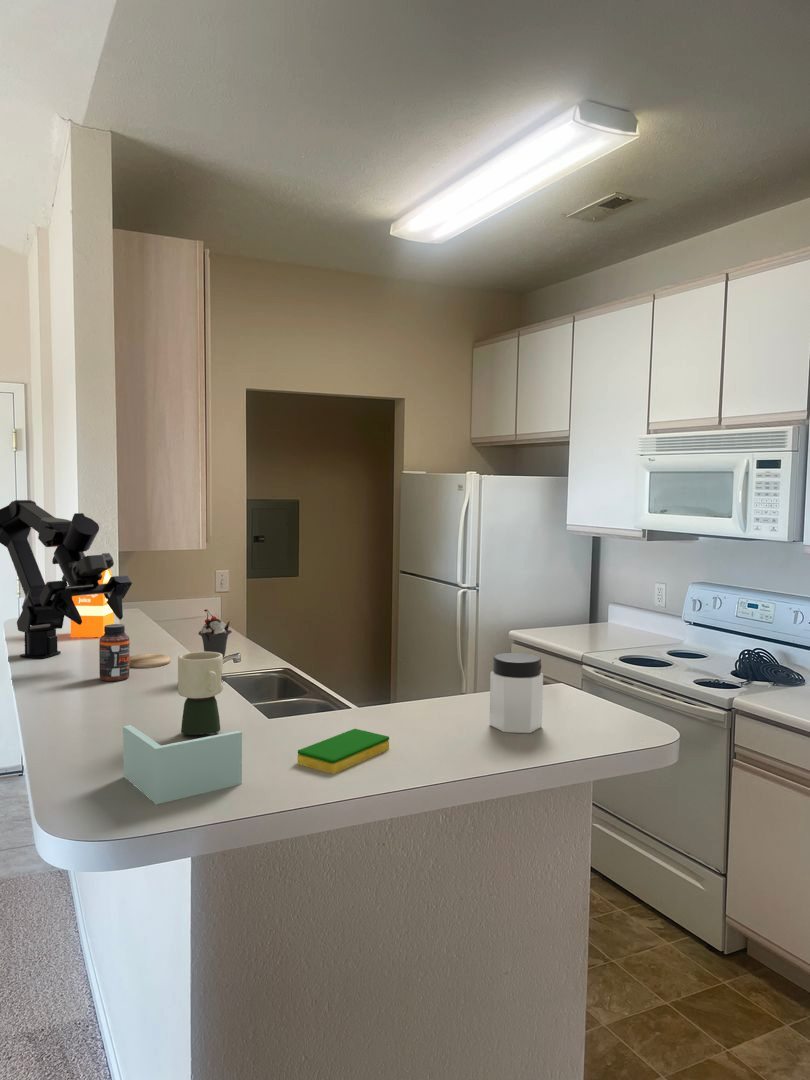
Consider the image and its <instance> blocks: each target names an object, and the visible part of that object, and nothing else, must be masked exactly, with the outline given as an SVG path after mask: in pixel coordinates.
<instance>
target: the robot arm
mask: <svg viewBox="0 0 810 1080" xmlns="http://www.w3.org/2000/svg"><path fill="white" fill-rule="evenodd" d="M32 529H33V530H35V531H36V532H37V533H38V536H37V538H38V540H39V541H40V542H41V544H42V545H43V546H44V547H46V548H55V550H54V552H53V558H52V561H51V562H52V564H53V565H58V566H59V569H60V570H61V572H62V577H61V580H52V581H51V580H50V581H47V582H45V580H44V578H43V575H42V572H41V570H40V567H39V564H38V562H37V560H36V557H35V554H34V552H33V550H32V546H31V544H30V542H29V539H28V538H29V536H30V533H31V530H32ZM99 531H100V525H99V523H98V522H96V521H95V520H94V519H92V518H90V517H89V516H88V517H87V516H85V513H83V512H81V513H80V512H79V513H78V512H77V513H75V512H74V513H73V516H72V518H71V520H69V519H66V518H59V517H55V516H54V515H52V514H50V513H49V512H48V511H46V510H45V509H43V508H42V507H40V506H39V505H37V503H36V501H33V500H32V499H15V500H14V501H13V500H11V502H10V503H9V504H8V505H5V506H4V507H2V508H1V509H0V544H1V545H2V546H4V547H5V548H7V551H8V553H9V556H10V559H11V562H12V563H13V567H14V570H15V572H16V575H17V577H18V580H19V583H20V585H21V589H22V590H23V593H24V596H25V597H24V600H23V602H22V606H21V609H22V611H21V613H20V615H19V617H18V619H17V621H16V625H17V630H18V631H19V632H21V633H24V653H21V654H20V655H19V656H20V657H21V658H31V659H33V658H34V659H46V658H49V656H50V657H53V656H56V655H59V654H62V652H61V651H62V650H61V651H60V650H58V635H57V630H59V629H60V630H61V629H63V625H64V620H65V617H67V619H69V620H70V621H71V620H72V621H74V622H75V623H77V624H78V625H81V623H82V619H81V616H80V614H79V612H78V610H77V608H76V606H75V604H74V602H73V600H72V596H79V595H80V596H85V595H96V594H104V596H105V598H106V599H108V601H107V604H108V605H109V607H110V608H111V609H112V611H113V612H114V616H116V618H117V619H118V620H120V621H121V620H122V619H123V617H124V615H123V614H124V613H123V612H124V611H123V610H124V609H123V599H124V598H125V597H126V595H127V593H128V591H129V590H130V588H131V586H132V584H133V583H132V581H131V579H130V577H129V576H128V575H115V576H113V575H112V577H110V579H109V581H108V583H107V584H99V583H98V580H101V578H102V577H103V576H102V574H101V573H102V572H104V571H105V570H107V569H110V570H111V568H113V567H114V564H115V563H114V558H113V556H112V555H111V553H110V552H107V553H105V552H104V553H102V554H97V555H96V554H95V555H93V554H92V555H85V552H87V551H88V550H90V548H91V547H92V544H93V543H94V540H95V539H96V538H97V534H98V533H99Z"/></svg>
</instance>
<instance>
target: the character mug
mask: <svg viewBox="0 0 810 1080" xmlns="http://www.w3.org/2000/svg"><path fill="white" fill-rule="evenodd" d="M223 661H224V658H223V655H222V654H221V653H217V652H204V651H191V652H187V653H186V652H185V653H182V654H179V655H178V657H177V692H178V695H179V696H180V697H184V698H186V699H185V701H184V704H183V712H182V718H181V729H180V732H181V734H182V735H186V736H187V735H188V736H198V735H202V736H203V735H206V736H207V735H208V734H217V733H219V732H220V731H221V720H220V714H219V707H218V701H217V698H216V696H217V695H219V694H221V693H222V692H223V690H224V684H223V682H224V681H222V676H223V670H224V662H223Z"/></svg>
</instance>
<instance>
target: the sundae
mask: <svg viewBox="0 0 810 1080" xmlns="http://www.w3.org/2000/svg"><path fill="white" fill-rule="evenodd" d="M204 612H205V613H206V616H207V617H206V619H205V620H204V623H205V624H203V626H201V629H200V630H199V631H198V633H197V635H199V636H201V640H202V644H203V652H217V653H221V654H222V655H223V659H224V658H225V656H226V652H227V651H226V650H227V643H228V642H227V641H228V637H229V635H230V634H231V633H233V632H232V630H230V629H229V627H230V624H231V622H230V621H228V622H227V623H226V624H224V623H225V622H223V621H222V620H221V619H219V618H218V617H217V616H214V615H213V614H211V613H210V611H209V610H208V608H207V609H204ZM209 615H210V616H211V617H210V619H209ZM227 679H228V678H227V676H225V675H222V680H223V681H222V682H224V681H227Z"/></svg>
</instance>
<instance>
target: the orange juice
mask: <svg viewBox="0 0 810 1080" xmlns="http://www.w3.org/2000/svg"><path fill="white" fill-rule="evenodd" d="M101 574H102V576H103V577H102V578H101V580H98V583H99V584H107V583H108V581H109V579H110V577H112V576H113V575H112V571H111V568H110V569H107V570H105V571H104V572H102V573H101ZM72 600H73V602H74V604H75V606H76V608H77V610H78V612H79V614H80V616H81V619H82V623H81V625H78V624H77V623H75V622H74V621H72V620H71V619H70V638H71V637H101V636H103V635H104V633H105V632H104V626H105V625H109V624H115V614H114V612H113V611H112V609H111V608H110V607H109V605H108V604H107V601H108V599H106V598H105V596H104V594H96V595H85V596H80V595H79V596H72Z"/></svg>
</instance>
